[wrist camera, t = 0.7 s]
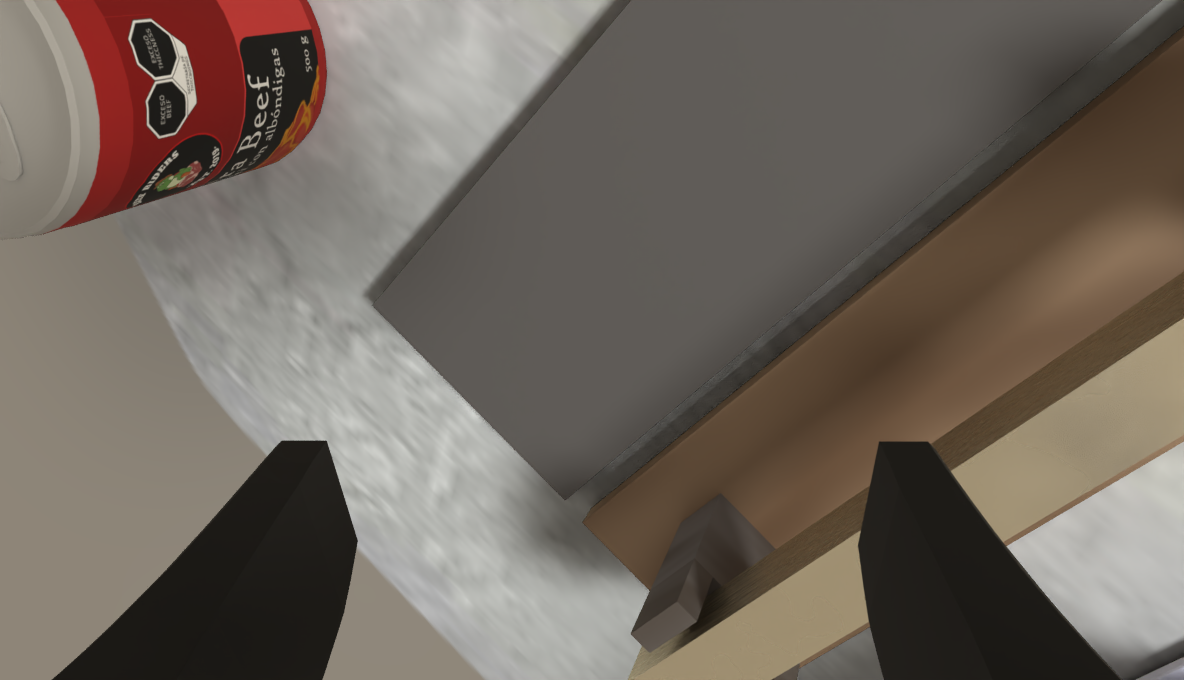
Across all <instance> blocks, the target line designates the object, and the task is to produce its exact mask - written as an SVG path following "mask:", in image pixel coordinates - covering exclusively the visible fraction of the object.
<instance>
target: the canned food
mask: <svg viewBox="0 0 1184 680" xmlns="http://www.w3.org/2000/svg"><path fill="white" fill-rule="evenodd" d="M326 77H327V69H326V57H325V49H324V45H323V41H322V36H321V32H320V28H319V26H318V23H317V21H316V18H315V16H314V13H313V11H312V8H311V6H310V5H309V3H308V1H307V0H0V239H13V238H23V237H27V236H33V235H42V234H45V233H48V232H52V231H55V230H58V229H62V228H65V227H70V226H75V225H78V224H81V223H84V222H87V221H91V220H94V219H97V218H100V217H103V216H107V215H109V214H113V213H116V212H120V211H123V210H126V209H129V208H132V207H136V206H139V205H142V204H145V203H149V202H152V201H155V200H158V199H161V198H165V197H168V196H171V195H174V194H178V193H181V192H184V191H187V190H190V189H194V188H197V187H200V186H203V185H206V184H210V183H213V182H216V181H219V180H223V179H226V178H229V177H232V176H235V175H239V174H242V173H245V172H248V171H251V170H255V169H258V168H261V167H264V166H267V165H269V164H272V163H275V162H277V161H279V160H280V159H282V158H283V157H285V156H286V155H287V154H289V153H290V152H292V151H293V150H294V149H295V148H296V147H297V145H298V144H299V143H300V142H301V141H302V140H303V139H304V138H305V137H306V135H307V134H308V133H309V132H310V131H311V129H312V128H313V126H314V124H315V122H316V120H317V118H318V116H319V114H320V111H321V107H322V104H323V100H324V96H325V89H326Z"/></svg>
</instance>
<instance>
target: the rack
mask: <svg viewBox="0 0 1184 680" xmlns="http://www.w3.org/2000/svg"><path fill="white" fill-rule="evenodd" d="M1183 271H1184V26H1183V27H1182V28H1181V29H1180V30H1179V31H1177V32H1176V33H1175V34H1174V35H1172V36H1171V37H1170V38H1169V39H1167V40H1166V41H1165V42H1164V43H1163V44H1161V45H1160V46H1159V47H1158V48H1156V49H1155V50H1154V51H1153V52H1151V53H1150V54H1149V55H1148V56H1147V57H1145V58H1144V59H1143V60H1142V61H1140V62H1139V63H1138V64H1137V65H1136V66H1134V67H1133V68H1132V69H1131V70H1129V71H1128V72H1127V73H1126V74H1124V75H1123V76H1122V77H1121V78H1120V79H1118V80H1117V81H1116V82H1115V83H1113V84H1112V85H1111V86H1110V87H1108V88H1107V89H1106V90H1105V91H1104V92H1102V93H1101V94H1100V95H1099V96H1097V97H1096V98H1095V99H1094V100H1092V101H1091V102H1090V103H1089V104H1088V105H1086V106H1085V107H1084V108H1083V109H1081V110H1080V111H1079V112H1078V113H1077V114H1075V115H1074V116H1073V117H1072V118H1070V119H1069V120H1068V121H1067V122H1065V123H1064V124H1063V125H1062V126H1061V127H1059V128H1058V129H1057V130H1056V131H1054V132H1053V133H1052V134H1051V135H1049V136H1048V137H1047V138H1046V139H1045V140H1043V141H1042V142H1041V143H1040V144H1038V145H1037V146H1036V147H1035V148H1034V149H1032V150H1031V151H1030V152H1029V153H1027V154H1026V155H1025V156H1024V157H1022V158H1021V159H1020V160H1019V161H1018V162H1016V163H1015V164H1014V165H1013V166H1011V167H1010V168H1009V169H1008V170H1006V171H1005V172H1004V173H1003V174H1002V175H1000V176H999V177H998V178H997V179H995V180H994V181H993V182H992V183H991V184H989V185H988V186H987V187H986V188H984V189H983V190H982V191H981V192H979V193H978V194H977V195H976V196H975V197H973V198H972V199H971V200H970V201H968V202H967V203H966V204H965V205H963V206H962V207H961V208H960V209H959V210H957V211H956V212H955V213H954V214H952V215H951V216H950V217H949V218H948V219H946V220H945V221H944V222H943V223H941V224H940V225H939V226H938V227H936V228H935V229H934V230H933V231H932V232H930V233H929V234H928V235H927V236H925V237H924V238H923V239H922V240H920V241H919V242H918V243H917V244H916V245H914V246H913V247H912V248H911V249H909V250H908V251H907V252H906V253H905V254H903V255H902V256H901V257H900V258H898V259H897V260H896V261H895V262H893V263H892V264H891V265H890V266H889V267H887V268H886V269H885V270H884V271H882V272H881V273H880V274H879V275H877V276H876V277H875V278H874V279H873V280H871V281H870V282H869V283H868V284H866V285H865V286H864V287H863V288H862V289H860V290H859V291H858V292H857V293H855V294H854V295H853V296H852V297H850V298H849V299H848V300H847V301H846V302H844V303H843V304H842V305H841V306H839V307H838V308H837V309H836V310H834V311H833V312H832V313H831V314H830V315H828V316H827V317H826V318H825V319H823V320H822V321H821V322H820V323H819V324H817V325H816V326H815V327H814V328H812V329H811V330H810V331H809V332H807V333H806V334H805V335H804V336H803V337H801V338H800V339H799V340H798V341H796V342H795V343H794V344H793V345H791V346H790V347H789V348H788V349H787V350H785V351H784V352H783V353H782V354H780V355H779V356H778V357H777V358H775V359H774V360H773V361H772V362H771V363H769V364H768V365H767V366H766V367H764V368H763V369H762V370H761V371H760V372H758V373H757V374H756V375H755V376H753V377H752V378H751V379H750V380H748V381H747V382H746V383H745V384H744V385H742V386H741V387H740V388H739V389H737V390H736V391H735V392H734V393H732V394H731V395H730V396H729V397H728V398H726V399H725V400H724V401H723V402H721V403H720V404H719V405H718V406H717V407H715V408H714V409H713V410H712V411H710V412H709V413H708V414H707V415H705V416H704V417H703V418H702V419H701V420H699V421H698V422H697V423H696V424H694V425H693V426H692V427H691V428H689V429H688V430H687V431H686V432H685V433H683V434H682V435H681V436H680V437H678V438H677V439H676V440H675V441H674V442H672V443H671V444H670V445H669V446H667V447H666V448H665V449H664V450H662V451H661V452H660V453H659V454H658V455H656V456H655V457H654V458H653V459H651V460H650V461H649V462H648V463H646V464H645V465H644V466H643V467H642V468H640V469H639V470H638V471H637V472H635V473H634V474H633V475H632V476H631V477H629V478H628V479H627V480H626V481H624V482H623V483H622V484H621V485H619V486H618V487H617V488H616V489H615V490H613V491H612V492H611V493H610V494H608V495H607V496H606V497H605V498H603V499H602V500H601V501H600V502H599V503H597V504H596V505H595V506H594V507H592V508H591V510H590V511H589V513H588V514H587V516H586V518H585V519H584V521H583V522H582V523H583V524H584V525H585V526H586V527H587V528H588V529H589V530H590V531H591V532H592V533H593V534H594V535H595V536H596V537H597V538H598V539H599V540H600V541H601V542H602V543H603V544H604V545H605V546H606V547H607V548H608V549H609V550H610V551H611V552H612V553H613V554H614V555H615V556H616V557H617V558H618V559H619V560H620V561H621V562H622V563H623V564H624V565H625V566H626V567H627V568H628V569H629V570H630V571H631V572H632V573H633V574H634V575H635V576H636V577H637V578H638V579H639V580H640V581H641V582H642V583H643V584H644V585H645V586H646V587H647V588H648V589H649V590H650V592H649V594H648V596H647V599H646V601H645V603H644V605H643V607H642V610H641V612H640V614H639V616H638V619H637V621H636V623H635V625H634V627H633V630H632V632H631V635H632V636H633V637H634V638H635V639H636V640H637V641H638V642H639V643H640V644H641V645H642V646H643V647H644V648H645V649H646V650H647V651H648V652H649V653H651V652H652V651H654V650H655V649H657V648H658V647H660V646H661V645H663V644H664V643H666V642H667V641H669V640H670V639H672V638H673V637H675V636H676V635H678V634H679V633H681V632H682V631H684V630H685V629H686V628H688V627H689V626H691V625H692V624H694V623H695V622H697V620H698V617H699V614H700V612H701V609H702V606H703V603H704V600H705V598H706V597H707V596H708V595H710V594H711V593H713V592H714V591H716V590H717V589H719V588H720V587H722V586H723V585H725V584H726V583H727V582H729V581H730V580H732V579H733V578H735V577H736V576H738V575H739V574H741V573H742V572H744V571H745V570H747V569H748V568H749V567H751V566H752V565H754V564H755V563H757V562H758V561H760V560H761V559H763V558H764V557H766V556H767V555H769V554H770V553H771V552H773V551H774V550H776V549H777V548H779V547H780V546H782V545H783V544H785V543H786V542H788V541H789V540H791V539H792V538H793V537H795V536H796V535H798V534H799V533H801V532H802V531H804V530H805V529H807V528H808V527H810V526H811V525H813V524H814V523H815V522H817V521H818V520H820V519H821V518H823V517H824V516H826V515H827V514H829V513H830V512H832V511H833V510H835V509H836V508H837V507H839V506H840V505H842V504H843V503H845V502H846V501H848V500H849V499H851V498H852V497H854V496H855V495H856V494H858V493H859V492H861V491H862V490H864V489H865V488H867V487H868V486H870V483H871V478H872V473H873V469H874V464H875V459H876V454H877V449H878V444H879V441H928V442H929V443H930V444H931V443H933V442H934V441H936V440H937V439H939V438H940V437H942V436H943V435H944V434H946V433H947V432H949V431H950V430H952V429H953V428H955V427H956V426H958V425H959V424H961V423H962V422H964V421H965V420H966V419H968V418H969V417H971V416H972V415H974V414H975V413H977V412H978V411H980V410H981V409H983V408H984V407H986V406H987V405H988V404H990V403H991V402H993V401H994V400H996V399H997V398H999V397H1000V396H1002V395H1003V394H1005V393H1006V392H1007V391H1009V390H1010V389H1012V388H1013V387H1015V386H1016V385H1018V384H1019V383H1021V382H1022V381H1024V380H1025V379H1027V378H1028V377H1029V376H1031V375H1032V374H1034V373H1035V372H1037V371H1038V370H1040V369H1041V368H1043V367H1044V366H1046V365H1047V364H1049V363H1050V362H1051V361H1053V360H1054V359H1056V358H1057V357H1059V356H1060V355H1062V354H1063V353H1065V352H1066V351H1068V350H1069V349H1071V348H1072V347H1073V346H1075V345H1076V344H1078V343H1079V342H1081V341H1082V340H1084V339H1085V338H1087V337H1088V336H1090V335H1091V334H1093V333H1094V332H1095V331H1097V330H1098V329H1100V328H1101V327H1103V326H1104V325H1106V324H1107V323H1109V322H1110V321H1112V320H1113V319H1115V318H1116V317H1117V316H1119V315H1120V314H1122V313H1123V312H1125V311H1126V310H1128V309H1129V308H1131V307H1132V306H1134V305H1135V304H1137V303H1138V302H1139V301H1141V300H1142V299H1144V298H1145V297H1147V296H1148V295H1150V294H1151V293H1153V292H1154V291H1156V290H1157V289H1159V288H1160V287H1161V286H1163V285H1164V284H1166V283H1167V282H1169V281H1170V280H1172V279H1173V278H1175V277H1176V276H1178V275H1179V274H1180V273H1182V272H1183ZM1182 442H1184V435H1182V436H1181V437H1179V438H1177V439H1176V440H1174V441H1172V442H1171V443H1169V444H1167V445H1166V446H1164V447H1162V448H1161V449H1159V450H1157V451H1155V452H1154V453H1152V454H1150V455H1149V456H1147V457H1145V458H1144V459H1142V460H1140V461H1139V462H1137V463H1135V464H1134V465H1132V466H1130V467H1129V468H1127V469H1125V470H1124V471H1122V472H1120V473H1118V474H1117V475H1115V476H1113V477H1112V478H1110V479H1108V480H1107V481H1105V482H1103V483H1102V484H1100V485H1098V486H1097V487H1095V488H1093V489H1092V490H1090V491H1088V492H1086V493H1085V494H1083V495H1081V496H1080V497H1078V498H1076V499H1075V500H1073V501H1071V502H1070V503H1068V504H1066V505H1065V506H1063V507H1061V508H1060V509H1058V510H1056V511H1055V512H1053V513H1051V514H1049V515H1048V516H1046V517H1044V518H1043V519H1041V520H1039V521H1038V522H1036V523H1034V524H1033V525H1031V526H1029V527H1028V528H1026V529H1024V530H1023V531H1021V532H1019V533H1017V534H1016V535H1014V536H1012V537H1011V538H1009V539H1007V540H1006V541H1004V542H1003V543H1004V544H1005V545H1006V546H1007V545H1009V544H1011V543H1013V542H1014V541H1016V540H1018V539H1019V538H1021V537H1023V536H1024V535H1026V534H1028V533H1029V532H1031V531H1033V530H1035V529H1036V528H1038V527H1040V526H1041V525H1043V524H1045V523H1046V522H1048V521H1050V520H1051V519H1053V518H1055V517H1057V516H1058V515H1060V514H1062V513H1063V512H1065V511H1067V510H1068V509H1070V508H1072V507H1073V506H1075V505H1077V504H1079V503H1080V502H1082V501H1084V500H1085V499H1087V498H1089V497H1090V496H1092V495H1094V494H1095V493H1097V492H1099V491H1101V490H1102V489H1104V488H1106V487H1107V486H1109V485H1111V484H1112V483H1114V482H1116V481H1118V480H1119V479H1121V478H1123V477H1124V476H1126V475H1128V474H1129V473H1131V472H1133V471H1134V470H1136V469H1138V468H1140V467H1141V466H1143V465H1145V464H1146V463H1148V462H1150V461H1151V460H1153V459H1155V458H1156V457H1158V456H1160V455H1162V454H1163V453H1165V452H1167V451H1168V450H1170V449H1172V448H1173V447H1175V446H1177V445H1178V444H1180V443H1182ZM869 627H870V624H869V622H868V623H866V624H864V625H863V626H861V627H859V628H858V629H856V630H854V631H853V632H851V633H849V634H848V635H846V636H844V637H842V638H841V639H839V640H837V641H836V642H834V643H832V644H831V645H829V646H827V647H826V648H824V649H822V650H821V651H819V652H817V653H816V654H814V655H812V656H810V657H809V658H807V659H805V660H804V661H802V662H800V663H799V664H797V665H795V666H794V667H792V668H790V669H789V670H787V671H785V672H784V673H782V674H780V675H779V676H777V677H775V678H773V679H772V680H797V676H798V671H799V668H801V667H803V666H804V665H806V664H808V663H809V662H811V661H813V660H814V659H816V658H818V657H820V656H821V655H823V654H825V653H826V652H828V651H830V650H831V649H833V648H835V647H836V646H838V645H840V644H842V643H843V642H845V641H847V640H848V639H850V638H852V637H853V636H855V635H857V634H858V633H860V632H862V631H864V630H865V629H867V628H869Z"/></svg>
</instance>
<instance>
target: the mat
mask: <svg viewBox="0 0 1184 680" xmlns="http://www.w3.org/2000/svg"><path fill="white" fill-rule="evenodd" d="M1161 1H1162V0H631V1H630V2H629V4H628V5H627V6H626V7H625V8H624V9H623V11H622V12H621V13H620V14H619V15H618V16H617V18H616V19H615V20H614V21H613V22H612V24H611V25H610V26H609V27H608V28H607V29H606V31H605V32H604V33H603V34H602V35H601V36H600V38H599V39H598V40H597V41H596V42H595V44H594V45H593V46H592V47H591V48H590V49H589V51H588V52H587V53H586V54H585V55H584V57H583V58H582V59H581V60H580V61H579V62H578V64H577V65H576V66H575V67H574V68H573V69H572V71H571V72H570V73H569V74H568V75H567V77H566V78H565V79H564V80H563V81H562V82H561V84H560V85H559V86H558V87H557V88H556V89H555V91H554V92H553V93H552V94H551V95H550V97H549V98H548V99H547V100H546V101H545V102H544V104H543V105H542V106H541V107H540V108H539V110H538V111H537V112H536V113H535V114H534V115H533V117H532V118H531V119H530V120H529V121H528V122H527V124H526V125H525V126H524V127H523V128H522V130H521V131H520V132H519V133H518V134H517V135H516V137H515V138H514V139H513V140H512V141H511V142H510V144H509V145H508V146H507V147H506V148H505V150H504V151H503V152H502V153H501V154H500V155H499V157H498V158H497V159H496V160H495V161H494V163H493V164H492V165H491V166H490V167H489V168H488V170H487V171H486V172H485V173H484V174H483V175H482V177H481V178H480V179H479V180H478V181H477V183H476V184H475V185H474V186H473V187H472V188H471V190H470V191H469V192H468V193H467V194H466V195H465V197H464V198H463V199H462V200H461V201H460V203H459V204H458V205H457V206H456V207H455V208H454V210H453V211H452V212H451V213H450V214H449V216H448V217H447V218H446V219H445V220H444V221H443V223H442V224H441V225H440V226H439V227H438V228H437V230H436V231H435V232H434V233H433V234H432V236H431V237H430V238H429V239H428V240H427V241H426V243H425V244H424V245H423V246H422V247H421V248H420V250H419V251H418V252H417V253H416V254H415V256H414V257H413V258H412V259H411V260H410V261H409V263H408V264H407V265H406V266H405V267H404V269H403V270H402V271H401V272H400V273H399V274H398V276H397V277H396V278H395V279H394V280H393V281H392V283H391V284H390V285H389V286H388V287H387V289H386V290H385V291H384V292H383V293H382V294H381V296H380V297H379V298H378V299H377V300H376V301H375V303H374V304H373V305H372V306H373V307H374V308H375V309H376V310H377V311H378V312H379V313H380V314H381V315H382V316H383V317H384V318H385V319H386V320H387V321H388V322H389V323H390V324H391V325H392V326H393V327H394V328H395V329H396V330H397V331H398V332H399V333H400V334H401V335H402V336H403V337H404V338H405V339H406V340H407V341H408V342H409V343H410V344H411V345H412V346H413V347H414V348H415V349H416V350H417V351H418V352H419V353H420V354H421V355H422V356H423V357H424V358H425V359H426V360H427V361H428V362H429V363H430V364H431V365H432V366H433V367H434V368H435V369H436V370H437V371H438V372H439V373H440V374H441V375H442V376H443V377H444V378H445V379H446V380H447V381H448V382H449V383H450V384H451V385H452V386H453V387H454V388H455V390H456V391H457V392H458V393H459V394H460V395H461V396H462V397H463V398H464V399H465V400H466V401H467V402H468V403H469V404H470V405H471V406H472V407H473V408H474V409H475V410H476V411H477V412H478V413H479V414H480V415H481V416H482V417H483V418H484V419H485V420H486V421H487V422H488V423H489V424H490V425H491V426H492V427H493V428H494V429H495V430H496V431H497V432H498V433H499V434H500V435H501V436H502V437H503V438H504V439H505V440H506V441H507V442H508V443H509V444H510V445H511V446H512V447H513V448H514V449H515V450H516V451H517V452H518V453H519V454H520V455H521V456H522V457H523V458H524V459H525V460H526V461H527V462H528V463H529V464H530V465H531V466H532V467H533V468H534V469H535V470H536V471H537V472H538V473H539V474H540V476H541V477H542V478H543V479H544V480H545V481H546V482H547V483H548V484H549V485H550V486H551V487H552V488H553V489H554V490H555V491H556V492H557V493H558V494H559V495H560V496H561V497H562V498H563V499H564V500H566V499H567V498H568V497H570V496H571V495H572V494H573V493H574V492H576V491H577V490H578V489H579V488H580V487H582V486H583V485H584V484H585V483H586V482H588V481H589V480H590V479H591V478H592V477H594V476H595V475H596V474H597V473H598V472H600V471H601V470H602V469H603V468H604V467H605V466H607V465H608V464H609V463H610V462H611V461H613V460H614V459H615V458H616V457H617V456H619V455H620V454H621V453H622V452H623V451H625V450H626V449H627V448H628V447H629V446H631V445H632V444H633V443H634V442H635V441H637V440H638V439H639V438H640V437H641V436H643V435H644V434H645V433H646V432H647V431H648V430H650V429H651V428H652V427H653V426H654V425H656V424H657V423H658V422H659V421H660V420H662V419H663V418H664V417H665V416H666V415H668V414H669V413H670V412H671V411H672V410H674V409H675V408H676V407H677V406H678V405H680V404H681V403H682V402H683V401H684V400H685V399H687V398H688V397H689V396H690V395H691V394H693V393H694V392H695V391H696V390H697V389H699V388H700V387H701V386H702V385H703V384H705V383H706V382H707V381H708V380H709V379H711V378H712V377H713V376H714V375H715V374H717V373H718V372H719V371H720V370H721V369H723V368H724V367H725V366H726V365H727V364H728V363H730V362H731V361H732V360H733V359H734V358H736V357H737V356H738V355H739V354H740V353H742V352H743V351H744V350H745V349H746V348H748V347H749V346H750V345H751V344H752V343H754V342H755V341H756V340H757V339H758V338H760V337H761V336H762V335H763V334H764V333H765V332H767V331H768V330H769V329H770V328H771V327H773V326H774V325H775V324H776V323H777V322H779V321H780V320H781V319H782V318H783V317H785V316H786V315H787V314H788V313H789V312H791V311H792V310H793V309H794V308H795V307H797V306H798V305H799V304H800V303H801V302H802V301H804V300H805V299H806V298H807V297H808V296H810V295H811V294H812V293H813V292H814V291H816V290H817V289H818V288H819V287H820V286H822V285H823V284H824V283H825V282H826V281H828V280H829V279H830V278H831V277H832V276H834V275H835V274H836V273H837V272H838V271H840V270H841V269H842V268H843V267H844V266H845V265H847V264H848V263H849V262H850V261H851V260H853V259H854V258H855V257H856V256H857V255H859V254H860V253H861V252H862V251H863V250H865V249H866V248H867V247H868V246H869V245H871V244H872V243H873V242H874V241H875V240H877V239H878V238H879V237H880V236H881V235H882V234H884V233H885V232H886V231H887V230H888V229H890V228H891V227H892V226H893V225H894V224H896V223H897V222H898V221H899V220H900V219H902V218H903V217H904V216H905V215H906V214H908V213H909V212H910V211H911V210H912V209H914V208H915V207H916V206H917V205H918V204H920V203H921V202H922V201H923V200H924V199H925V198H927V197H928V196H929V195H930V194H931V193H933V192H934V191H935V190H936V189H937V188H939V187H940V186H941V185H942V184H943V183H945V182H946V181H947V180H948V179H949V178H951V177H952V176H953V175H954V174H955V173H957V172H958V171H959V170H960V169H961V168H962V167H964V166H965V165H966V164H967V163H968V162H970V161H971V160H972V159H973V158H974V157H976V156H977V155H978V154H979V153H980V152H982V151H983V150H984V149H985V148H986V147H988V146H989V145H990V144H991V143H992V142H994V141H995V140H996V139H997V138H998V137H999V136H1001V135H1002V134H1003V133H1004V132H1005V131H1007V130H1008V129H1009V128H1010V127H1011V126H1013V125H1014V124H1015V123H1016V122H1017V121H1019V120H1020V119H1021V118H1022V117H1023V116H1025V115H1026V114H1027V113H1028V112H1029V111H1031V110H1032V109H1033V108H1034V107H1035V106H1037V105H1038V104H1039V103H1040V102H1041V101H1042V100H1044V99H1045V98H1046V97H1047V96H1048V95H1050V94H1051V93H1052V92H1053V91H1054V90H1056V89H1057V88H1058V87H1059V86H1060V85H1062V84H1063V83H1064V82H1065V81H1066V80H1068V79H1069V78H1070V77H1071V76H1072V75H1074V74H1075V73H1076V72H1077V71H1078V70H1079V69H1081V68H1082V67H1083V66H1084V65H1085V64H1087V63H1088V62H1089V61H1090V60H1091V59H1093V58H1094V57H1095V56H1096V55H1097V54H1099V53H1100V52H1101V51H1102V50H1103V49H1105V48H1106V47H1107V46H1108V45H1109V44H1111V43H1112V42H1113V41H1114V40H1115V39H1117V38H1118V37H1119V36H1120V35H1121V34H1122V33H1124V32H1125V31H1126V30H1127V29H1128V28H1130V27H1131V26H1132V25H1133V24H1134V23H1136V22H1137V21H1138V20H1139V19H1140V18H1142V17H1143V16H1144V15H1145V14H1146V13H1148V12H1149V11H1150V10H1151V9H1152V8H1154V7H1155V6H1156V5H1157V4H1158V3H1159V2H1161Z"/></svg>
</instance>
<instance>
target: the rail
mask: <svg viewBox="0 0 1184 680" xmlns="http://www.w3.org/2000/svg"><path fill="white" fill-rule="evenodd" d="M1182 435H1184V271H1183V272H1182V273H1180V274H1179V275H1178V276H1176V277H1175V278H1173V279H1172V280H1170V281H1169V282H1167V283H1166V284H1164V285H1163V286H1161V287H1160V288H1159V289H1157V290H1156V291H1154V292H1153V293H1151V294H1150V295H1148V296H1147V297H1145V298H1144V299H1142V300H1141V301H1139V302H1138V303H1137V304H1135V305H1134V306H1132V307H1131V308H1129V309H1128V310H1126V311H1125V312H1123V313H1122V314H1120V315H1119V316H1117V317H1116V318H1115V319H1113V320H1112V321H1110V322H1109V323H1107V324H1106V325H1104V326H1103V327H1101V328H1100V329H1098V330H1097V331H1095V332H1094V333H1093V334H1091V335H1090V336H1088V337H1087V338H1085V339H1084V340H1082V341H1081V342H1079V343H1078V344H1076V345H1075V346H1073V347H1072V348H1071V349H1069V350H1068V351H1066V352H1065V353H1063V354H1062V355H1060V356H1059V357H1057V358H1056V359H1054V360H1053V361H1051V362H1050V363H1049V364H1047V365H1046V366H1044V367H1043V368H1041V369H1040V370H1038V371H1037V372H1035V373H1034V374H1032V375H1031V376H1029V377H1028V378H1027V379H1025V380H1024V381H1022V382H1021V383H1019V384H1018V385H1016V386H1015V387H1013V388H1012V389H1010V390H1009V391H1007V392H1006V393H1005V394H1003V395H1002V396H1000V397H999V398H997V399H996V400H994V401H993V402H991V403H990V404H988V405H987V406H986V407H984V408H983V409H981V410H980V411H978V412H977V413H975V414H974V415H972V416H971V417H969V418H968V419H966V420H965V421H964V422H962V423H961V424H959V425H958V426H956V427H955V428H953V429H952V430H950V431H949V432H947V433H946V434H944V435H943V436H942V437H940V438H939V439H937V440H936V441H934V442H933V443H931V445H932V446H933V447H934V448H935V449H936V451H937V452H938V454H939V455H940V456H941V458H942V459H943V461H944V462H945V464H946V465H947V467H948V468H949V469H950V471H951V472H952V474H953V475H954V477H955V478H956V479H957V481H958V482H959V484H960V485H961V486H962V488H963V489H964V491H965V492H966V493H967V495H968V496H969V498H970V499H971V500H972V502H973V503H974V504H975V506H976V507H977V508H978V510H979V511H980V512H981V514H982V515H983V516H984V518H985V519H986V521H987V522H988V523H989V525H990V526H991V527H992V529H993V530H994V531H995V532H996V534H997V535H998V536H999V538H1000V539H1001V540H1002V542H1004V541H1006V540H1007V539H1009V538H1011V537H1012V536H1014V535H1016V534H1017V533H1019V532H1021V531H1023V530H1024V529H1026V528H1028V527H1029V526H1031V525H1033V524H1034V523H1036V522H1038V521H1039V520H1041V519H1043V518H1044V517H1046V516H1048V515H1049V514H1051V513H1053V512H1055V511H1056V510H1058V509H1060V508H1061V507H1063V506H1065V505H1066V504H1068V503H1070V502H1071V501H1073V500H1075V499H1076V498H1078V497H1080V496H1081V495H1083V494H1085V493H1086V492H1088V491H1090V490H1092V489H1093V488H1095V487H1097V486H1098V485H1100V484H1102V483H1103V482H1105V481H1107V480H1108V479H1110V478H1112V477H1113V476H1115V475H1117V474H1118V473H1120V472H1122V471H1124V470H1125V469H1127V468H1129V467H1130V466H1132V465H1134V464H1135V463H1137V462H1139V461H1140V460H1142V459H1144V458H1145V457H1147V456H1149V455H1150V454H1152V453H1154V452H1155V451H1157V450H1159V449H1161V448H1162V447H1164V446H1166V445H1167V444H1169V443H1171V442H1172V441H1174V440H1176V439H1177V438H1179V437H1181V436H1182ZM869 488H870V486H868V487H867V488H865V489H864V490H862V491H861V492H859V493H858V494H856V495H855V496H854V497H852V498H851V499H849V500H848V501H846V502H845V503H843V504H842V505H840V506H839V507H837V508H836V509H835V510H833V511H832V512H830V513H829V514H827V515H826V516H824V517H823V518H821V519H820V520H818V521H817V522H815V523H814V524H813V525H811V526H810V527H808V528H807V529H805V530H804V531H802V532H801V533H799V534H798V535H796V536H795V537H793V538H792V539H791V540H789V541H788V542H786V543H785V544H783V545H782V546H780V547H779V548H777V549H776V550H774V551H773V552H771V553H770V554H769V555H767V556H766V557H764V558H763V559H761V560H760V561H758V562H757V563H755V564H754V565H752V566H751V567H749V568H748V569H747V570H745V571H744V572H742V573H741V574H739V575H738V576H736V577H735V578H733V579H732V580H730V581H729V582H727V583H726V584H725V585H723V586H722V587H720V588H719V589H717V590H716V591H714V592H713V593H711V594H710V595H708V596H707V597H706V598H705V600H704V603H703V606H702V609H701V612H700V614H699V617H698V620H697V622H695V623H694V624H692V625H691V626H689V627H688V628H686V629H685V630H684V631H682V632H681V633H679V634H678V635H676V636H675V637H673V638H672V639H670V640H669V641H667V642H666V643H664V644H663V645H661V646H660V647H658V648H657V649H655V650H654V651H652V652H651V653H649V652H648V651H647V650H646V649H645V648H644V647H643V646H642V647H641V650H640V652H639V654H638V657H637V659H636V661H635V664H634V666H633V669H632V671H631V673H630V676H629V678H628V680H772V679H773V678H775V677H777V676H779V675H780V674H782V673H784V672H785V671H787V670H789V669H790V668H792V667H794V666H795V665H797V664H799V663H800V662H802V661H804V660H805V659H807V658H809V657H810V656H812V655H814V654H816V653H817V652H819V651H821V650H822V649H824V648H826V647H827V646H829V645H831V644H832V643H834V642H836V641H837V640H839V639H841V638H842V637H844V636H846V635H848V634H849V633H851V632H853V631H854V630H856V629H858V628H859V627H861V626H863V625H864V624H866V623H868V622H869V620H868V614H867V607H866V601H865V594H864V587H863V580H862V573H861V565H860V558H859V550H858V542H859V537H860V532H861V527H862V522H863V517H864V512H865V508H866V503H867V498H868V493H869Z"/></svg>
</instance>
